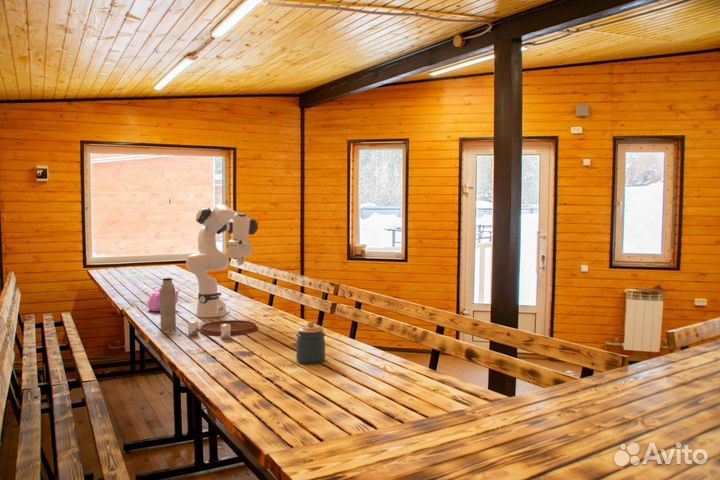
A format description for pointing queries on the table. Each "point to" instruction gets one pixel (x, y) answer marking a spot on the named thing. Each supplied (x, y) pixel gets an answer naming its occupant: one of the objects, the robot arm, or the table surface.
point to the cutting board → (236, 328)
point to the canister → (310, 344)
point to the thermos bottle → (167, 304)
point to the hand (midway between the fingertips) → (241, 264)
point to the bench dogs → (194, 330)
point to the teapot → (158, 301)
